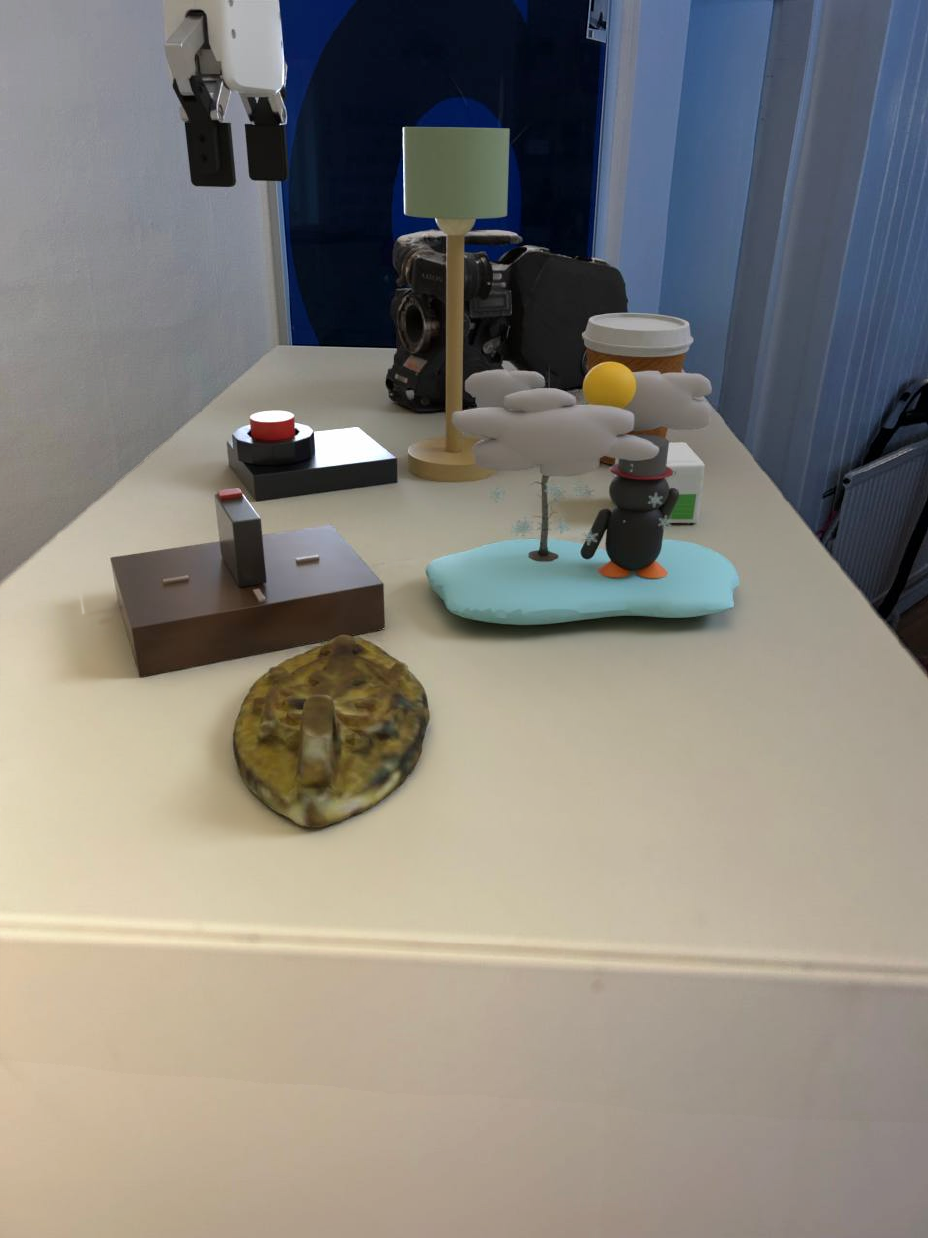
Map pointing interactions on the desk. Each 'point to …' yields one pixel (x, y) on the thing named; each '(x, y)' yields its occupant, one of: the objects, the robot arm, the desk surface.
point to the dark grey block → (240, 537)
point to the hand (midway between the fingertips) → (243, 183)
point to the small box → (684, 482)
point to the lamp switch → (272, 425)
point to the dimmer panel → (244, 600)
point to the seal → (330, 731)
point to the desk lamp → (453, 257)
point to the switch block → (309, 462)
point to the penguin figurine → (572, 445)
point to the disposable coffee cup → (638, 347)
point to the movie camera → (494, 313)
